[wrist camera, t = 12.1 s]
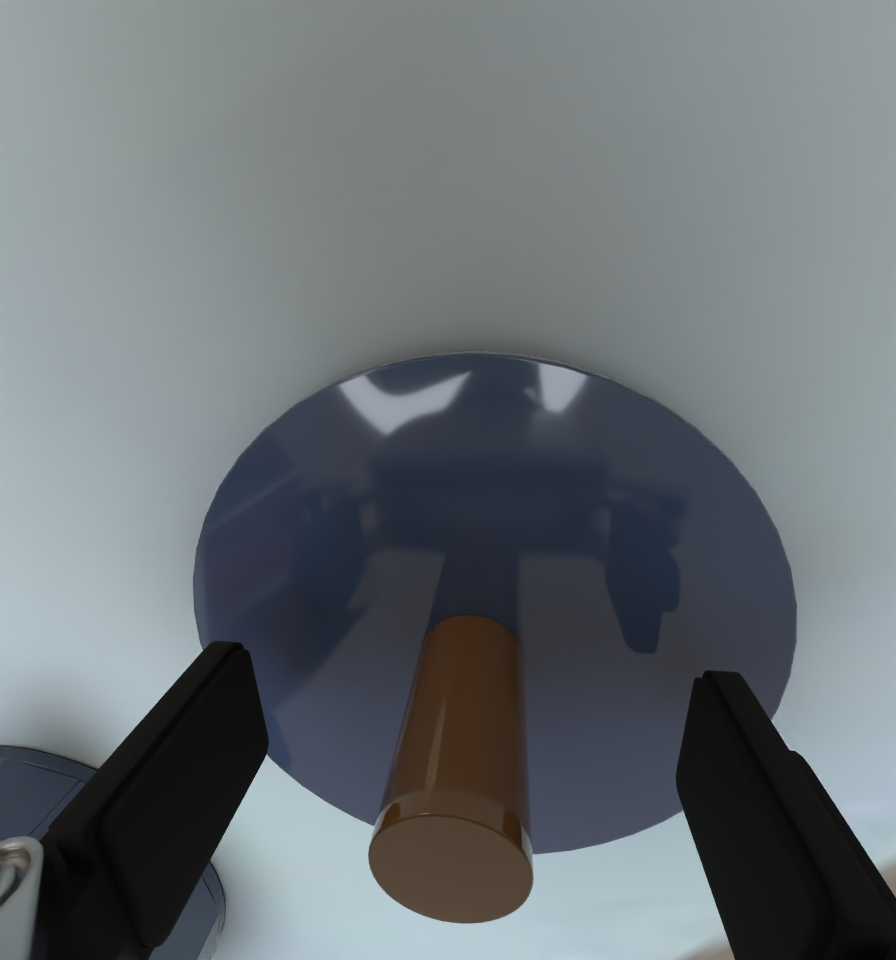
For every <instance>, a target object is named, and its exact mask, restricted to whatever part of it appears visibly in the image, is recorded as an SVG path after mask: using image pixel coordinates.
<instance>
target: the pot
mask: <svg viewBox="0 0 896 960" xmlns="http://www.w3.org/2000/svg"><path fill="white" fill-rule="evenodd" d="M96 772H97V771H96V770H94V769H91V768H89V767H87V766H84V765H82V764H80V763H77V762H74V761H71V760H68V759H65V758H62V757H59V756H56V755H52V754H47V753H43V752H39V751H35V750H29V749H22V748H15V747H0V841H3V840H6V839H9V838H13V837H21V836H27V837H31V838H35V839H37V840H38V842H39V841H40V840H41V838H42V837H43V836H44V835H45V834H46V833H47V832H48V830H49V828H48V826H49V825H50V824H51V823H52V822H53V821H54V819H55V818H56V817H57V816H58V815H59V814H60V813H61V811H62V810H63V809H64V808H65V807H66V806H67V805H68V803H69V802H70V801H71V800H72V799H73V798H74V797H75V796H76V794H77V793H78V792H79V791H80V790H81V789H82V788H83V786H84V785H85V784H86V783H87V782H88V781H89V780H90V779H91V777H92V776H93V775H94V774H95V773H96ZM224 917H225V901H224V896H223V892H222V888H221V885H220V883H219V880H218V878H217V875H216V873H215V871H214V869H213V868H212V866H211V864H210V862H209V863H208V865H207V867H206V868H205V870H204V872H203V874H202V876H201V878H200V880H199V881H198V883H197V885H196V887H195V889H194V891H193V893H192V894H191V896H190V898H189V900H188V902H187V904H186V906H185V907H184V909H183V911H182V913H181V915H180V917H179V919H178V920H177V922H176V924H175V926H174V928H173V930H172V932H171V933H170V935H169V937H168V938H167V940H166V941H165V942H164V943H163V944H162V945H161V946H159V947H155V949H154V950H153V952H152V954H151V956H150V958H149V959H148V960H211V959H212V957H213V954H214V952H215V950H216V943H217V938H218V936H219V934H220V932H221V929H222V927H223V922H224Z"/></svg>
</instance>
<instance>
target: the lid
mask: <svg viewBox="0 0 896 960" xmlns="http://www.w3.org/2000/svg"><path fill="white" fill-rule="evenodd" d="M193 594H194V612H195V618H196V623H197V629H198V634H199V639H200V643H201V646H202V649H203V650H204V649H205V648H206V647H207V646H208V645H209V644H210V643H211V642H213V641H227V642H239V643H241V644H242V645H243V647H244V649H245V650H248V651H249V652H250V655H251V660H252V664H253V669H254V673H255V678H256V683H257V687H258V692H259V696H260V701H261V705H262V710H263V715H264V719H265V724H266V728H267V733H268V737H269V746H268V751H267V755H268V756H269V757H270V758H271V759H272V760H273V761H274V762H275V763H276V764H277V765H278V766H279V767H280V768H281V769H282V770H284V771H285V772H286V773H287V774H289V775H290V776H291V777H292V778H293V779H295V780H296V781H297V782H298V783H300V784H301V785H302V786H303V787H305V788H306V789H308V790H309V791H311V792H312V793H314V794H315V795H317V796H318V797H320V798H321V799H323V800H324V801H326V802H327V803H329V804H331V805H333V806H334V807H336V808H338V809H340V810H342V811H344V812H345V813H347V814H349V815H351V816H353V817H355V818H357V819H359V820H361V821H364V822H366V823H368V824H370V825H373V826H374V830H373V834H372V838H371V842H370V846H369V852H368V857H369V865H370V869H371V872H372V874H373V876H374V878H375V880H376V881H377V883H378V884H379V886H380V887H381V888H382V889H383V890H384V891H385V892H386V893H387V894H388V895H389V896H390V897H391V898H392V899H394V900H395V901H396V902H398V903H399V904H401V905H402V906H404V907H406V908H408V909H410V910H412V911H414V912H416V913H418V914H421V915H423V916H426V917H429V918H432V919H436V920H440V921H446V922H451V923H483V922H488V921H493V920H496V919H500V918H502V917H505V916H507V915H509V914H511V913H512V912H514V911H515V910H517V909H518V908H519V907H520V906H521V905H522V904H523V903H524V902H525V901H526V899H527V898H528V896H529V894H530V892H531V889H532V886H533V880H534V877H533V854H544V853H553V852H562V851H571V850H576V849H581V848H586V847H591V846H596V845H600V844H604V843H608V842H611V841H614V840H617V839H620V838H624V837H627V836H630V835H633V834H636V833H638V832H640V831H643V830H645V829H647V828H650V827H652V826H654V825H657V824H659V823H661V822H664V821H665V820H667V819H669V818H671V817H672V816H674V815H676V814H678V813H679V812H681V811H683V807H682V804H681V802H680V799H679V796H678V792H677V787H676V770H677V765H678V759H679V754H680V749H681V744H682V738H683V733H684V728H685V723H686V718H687V712H688V707H689V702H690V697H691V692H692V686H693V682H694V679H695V678H696V677H700V678H702V676H703V673H704V672H705V671H706V670H713V671H730V672H738V673H740V674H741V675H742V676H743V678H744V679H745V681H746V682H747V684H748V685H749V687H750V689H751V690H752V692H753V693H754V695H755V697H756V698H757V700H758V701H759V703H760V704H761V706H762V708H763V709H764V711H765V712H766V714H767V716H768V717H769V719H770V720H772V718H773V717H774V715H775V713H776V711H777V709H778V708H779V705H780V702H781V699H782V697H783V694H784V691H785V689H786V686H787V683H788V680H789V678H790V674H791V668H792V663H793V658H794V652H795V647H796V637H797V604H796V598H795V592H794V586H793V580H792V574H791V568H790V565H789V562H788V559H787V556H786V553H785V550H784V547H783V545H782V542H781V539H780V536H779V533H778V530H777V528H776V527H775V525H774V523H773V521H772V519H771V518H770V516H769V514H768V512H767V510H766V509H765V507H764V505H763V503H762V501H761V500H760V498H759V496H758V494H757V493H756V491H755V490H754V489H753V488H752V486H751V485H750V484H749V483H748V481H747V480H746V479H745V478H744V476H743V475H742V474H741V473H740V471H739V470H738V469H737V467H736V466H735V465H734V464H733V462H732V461H731V460H730V459H729V458H728V457H727V456H726V455H725V454H724V453H723V452H722V451H721V450H719V449H718V448H717V447H716V446H715V445H714V444H713V443H712V442H711V441H710V440H709V439H708V438H707V437H705V436H704V435H703V434H702V433H701V432H700V431H699V430H698V429H697V428H695V427H694V426H693V425H691V424H690V423H688V422H687V421H685V420H684V419H682V418H681V417H679V416H678V415H676V414H675V413H673V412H672V411H671V410H669V409H668V408H666V407H665V406H663V405H662V404H660V403H659V402H657V401H656V400H654V399H653V398H651V397H649V396H647V395H645V394H643V393H641V392H639V391H637V390H635V389H633V388H631V387H629V386H627V385H625V384H623V383H621V382H619V381H617V380H615V379H613V378H611V377H609V376H606V375H603V374H600V373H596V372H593V371H590V370H587V369H584V368H581V367H578V366H575V365H572V364H569V363H566V362H563V361H557V360H552V359H547V358H541V357H536V356H530V355H525V354H519V353H508V352H486V351H460V352H449V353H438V354H426V355H420V356H416V357H411V358H407V359H403V360H398V361H394V362H390V363H385V364H381V365H378V366H375V367H373V368H370V369H367V370H365V371H362V372H360V373H357V374H355V375H352V376H349V377H347V378H344V379H342V380H339V381H337V382H335V383H332V384H331V385H329V386H327V387H325V388H323V389H322V390H320V391H318V392H316V393H315V394H313V395H311V396H309V397H308V398H306V399H304V400H302V401H300V402H299V403H297V404H295V405H294V406H293V407H292V408H290V409H289V410H288V411H287V412H285V413H284V414H283V415H281V416H280V417H279V418H278V419H276V420H275V421H274V422H272V423H271V424H270V425H269V426H267V427H266V428H265V429H264V430H263V431H262V432H261V433H260V434H259V435H258V436H257V437H256V439H255V440H254V441H253V442H252V443H251V444H250V445H249V446H248V447H247V448H246V449H245V450H244V451H243V453H242V454H241V455H240V456H239V457H238V459H237V460H236V462H235V463H234V465H233V466H232V468H231V469H230V471H229V472H228V474H227V475H226V477H225V478H224V480H223V481H222V483H221V484H220V486H219V488H218V490H217V492H216V494H215V497H214V499H213V501H212V503H211V505H210V508H209V510H208V512H207V514H206V516H205V520H204V523H203V527H202V530H201V534H200V538H199V541H198V545H197V549H196V557H195V566H194V575H193Z"/></svg>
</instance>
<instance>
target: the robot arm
mask: <svg viewBox="0 0 896 960" xmlns="http://www.w3.org/2000/svg"><path fill="white" fill-rule="evenodd" d="M268 746H269V737H268V733H267V728H266V724H265V719H264V715H263V710H262V705H261V701H260V696H259V692H258V687H257V683H256V678H255V673H254V669H253V664H252V660H251V655H250V652H249V651H248V650H245V649H244V647H243V645H242V644H241V643H239V642H227V641H213V642H211V643H210V644H209V645H208V646H207V647H206V648H205V649H204V650H203V651H202V653H201V654H200V655H199V656H198V657H197V658H196V659H195V661H194V662H193V663H192V664H191V665H190V666H189V667H188V669H187V670H186V671H185V672H184V673H183V674H182V675H181V676H180V678H179V679H178V680H177V681H176V682H175V683H174V684H173V686H172V687H171V688H170V689H169V690H168V691H167V692H166V693H165V695H164V696H163V697H162V698H161V699H160V700H159V701H158V703H157V704H156V705H155V706H154V707H153V708H152V709H151V710H150V712H149V713H148V714H147V715H146V716H145V717H144V718H143V720H142V721H141V722H140V723H139V724H138V725H137V726H136V727H135V729H134V730H133V731H132V732H131V733H130V734H129V735H128V737H127V738H126V739H125V740H124V741H123V742H122V743H121V745H120V746H119V747H118V748H117V749H116V750H115V751H114V752H113V754H112V755H111V756H110V757H109V758H108V759H107V760H106V762H105V763H104V764H103V765H102V766H101V767H100V768H99V769H98V771H97V772H96V773H95V774H94V775H93V776H92V777H91V779H90V780H89V781H88V782H87V783H86V784H85V785H84V786H83V788H82V789H81V790H80V791H79V792H78V793H77V794H76V796H75V797H74V798H73V799H72V800H71V801H70V802H69V803H68V805H67V806H66V807H65V808H64V809H63V810H62V811H61V813H60V814H59V815H58V816H57V817H56V818H55V819H54V821H53V822H52V823H51V824H50V825H49V826H48V828H49V830H48V832H47V833H46V834H45V835H44V836H43V837H42V838H41V840H40V841H39V842H38V840H37V839H35V838H31V837H27V836H21V837H13V838H9V839H6V840H3V841H0V960H148V959H149V958H150V956H151V954H152V952H153V950H154V949H155V947H159V946H161V945H162V944H163V943H164V942H165V941H166V940H167V938H168V937H169V935H170V933H171V932H172V930H173V928H174V926H175V924H176V922H177V920H178V919H179V917H180V915H181V913H182V911H183V909H184V907H185V906H186V904H187V902H188V900H189V898H190V896H191V894H192V893H193V891H194V889H195V887H196V885H197V883H198V881H199V880H200V878H201V876H202V874H203V872H204V870H205V868H206V867H207V865H208V863H209V861H210V859H211V857H212V855H213V853H214V852H215V850H216V848H217V846H218V844H219V842H220V840H221V839H222V837H223V835H224V833H225V831H226V829H227V827H228V826H229V824H230V822H231V820H232V818H233V816H234V814H235V813H236V811H237V809H238V807H239V805H240V803H241V801H242V800H243V798H244V796H245V794H246V792H247V790H248V788H249V786H250V785H251V783H252V781H253V779H254V777H255V775H256V773H257V772H258V770H259V768H260V766H261V764H262V762H263V760H264V759H265V756H266V754H267V751H268ZM676 787H677V792H678V796H679V799H680V802H681V804H682V807H683V810H684V813H685V816H686V819H687V822H688V825H689V828H690V830H691V833H692V836H693V839H694V842H695V845H696V848H697V851H698V854H699V857H700V859H701V862H702V865H703V868H704V871H705V874H706V877H707V880H708V883H709V885H710V888H711V891H712V894H713V897H714V900H715V903H716V906H717V909H718V911H719V914H720V917H721V920H722V923H723V926H724V929H725V932H726V935H727V937H728V940H729V943H730V946H731V949H732V952H733V955H734V958H735V960H896V897H895V896H894V894H893V893H892V891H891V890H890V888H889V887H888V885H887V884H886V882H885V881H884V879H883V878H882V876H881V874H880V873H879V871H878V870H877V868H876V867H875V865H874V864H873V862H872V861H871V859H870V858H869V856H868V855H867V853H866V851H865V850H864V848H863V847H862V845H861V844H860V842H859V841H858V839H857V838H856V836H855V835H854V833H853V832H852V830H851V828H850V827H849V825H848V824H847V822H846V821H845V819H844V818H843V816H842V815H841V813H840V812H839V810H838V809H837V807H836V805H835V804H834V802H833V801H832V799H831V798H830V796H829V795H828V793H827V792H826V790H825V789H824V787H823V786H822V784H821V782H820V781H819V779H818V778H817V776H816V775H815V773H814V772H813V770H812V769H811V767H810V766H809V764H808V763H807V762H806V761H805V759H804V758H803V757H802V756H801V755H800V754H798V753H797V752H796V751H791V750H789V749H788V747H787V746H786V744H785V743H784V741H783V739H782V738H781V736H780V735H779V733H778V732H777V730H776V728H775V727H774V725H773V724H772V722H771V720H770V719H769V717H768V716H767V714H766V712H765V711H764V709H763V708H762V706H761V704H760V703H759V701H758V700H757V698H756V697H755V695H754V693H753V692H752V690H751V689H750V687H749V685H748V684H747V682H746V681H745V679H744V678H743V676H742V675H741V674H740V673H738V672H730V671H713V670H706V671H705V672H704V673H703V676H702V678H700V677H696V678H695V679H694V682H693V686H692V692H691V697H690V702H689V707H688V712H687V718H686V723H685V728H684V733H683V738H682V744H681V749H680V754H679V759H678V765H677V770H676Z"/></svg>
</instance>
